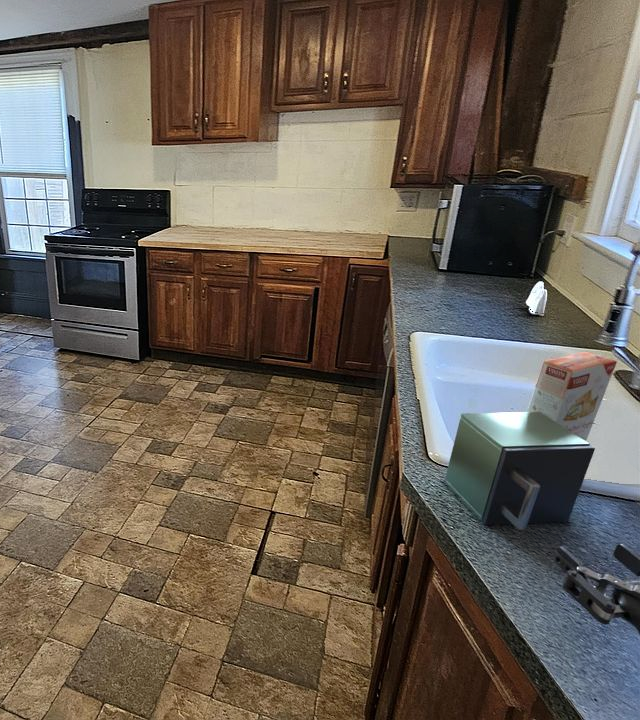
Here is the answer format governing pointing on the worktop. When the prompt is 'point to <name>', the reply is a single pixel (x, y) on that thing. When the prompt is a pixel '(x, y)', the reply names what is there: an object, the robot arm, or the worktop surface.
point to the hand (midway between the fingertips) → (587, 550)
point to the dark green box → (496, 450)
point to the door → (537, 485)
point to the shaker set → (537, 299)
